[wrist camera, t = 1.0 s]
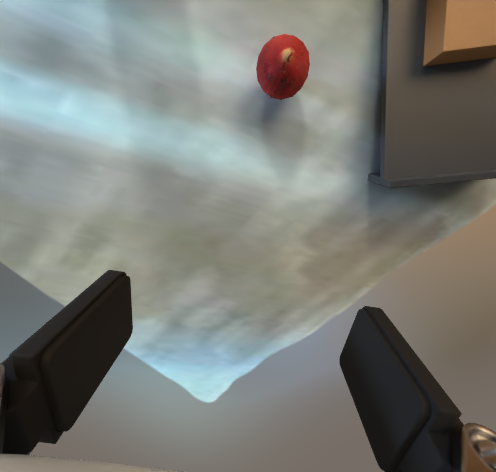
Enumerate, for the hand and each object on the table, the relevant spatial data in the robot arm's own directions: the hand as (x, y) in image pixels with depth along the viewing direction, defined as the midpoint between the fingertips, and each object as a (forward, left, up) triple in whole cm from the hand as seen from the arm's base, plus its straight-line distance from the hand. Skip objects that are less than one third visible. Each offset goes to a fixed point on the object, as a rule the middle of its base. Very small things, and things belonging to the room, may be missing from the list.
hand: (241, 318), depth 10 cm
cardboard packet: (-17, +25, -25) cm, 39 cm away
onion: (-14, +5, -27) cm, 31 cm away
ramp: (-11, +25, -27) cm, 38 cm away
